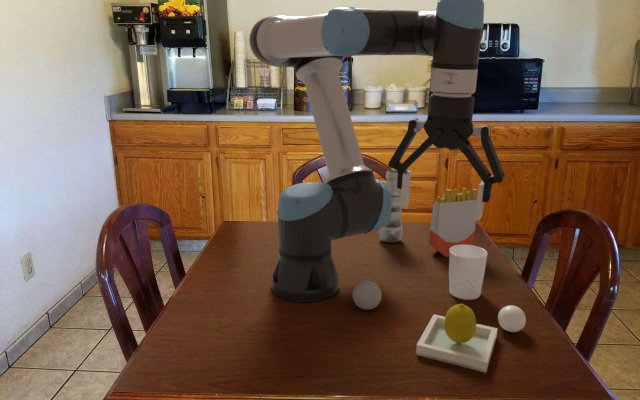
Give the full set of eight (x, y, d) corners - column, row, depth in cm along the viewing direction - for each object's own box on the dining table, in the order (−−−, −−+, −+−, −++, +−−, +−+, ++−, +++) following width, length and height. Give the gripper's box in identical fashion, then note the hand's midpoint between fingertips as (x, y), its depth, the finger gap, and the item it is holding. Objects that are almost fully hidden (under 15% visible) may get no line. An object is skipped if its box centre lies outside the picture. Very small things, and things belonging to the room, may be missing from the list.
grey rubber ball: (347, 311, 105) (348, 284, 104) (358, 298, 110) (359, 273, 109) (375, 317, 103) (376, 290, 101) (385, 304, 108) (386, 278, 106)
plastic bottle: (374, 238, 145) (376, 170, 140) (396, 235, 147) (399, 168, 142) (384, 246, 140) (386, 175, 134) (406, 243, 142) (410, 173, 136)
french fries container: (427, 251, 136) (432, 186, 131) (463, 247, 139) (468, 183, 134) (436, 258, 132) (441, 191, 127) (473, 253, 135) (479, 187, 130)
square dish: (415, 354, 90) (416, 344, 90) (433, 323, 101) (433, 314, 100) (486, 373, 85) (487, 362, 85) (496, 337, 96) (497, 328, 95)
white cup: (484, 303, 109) (489, 259, 106) (446, 299, 110) (450, 256, 107) (481, 286, 116) (485, 245, 113) (445, 283, 118) (448, 243, 115)
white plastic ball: (494, 333, 97) (497, 309, 96) (498, 321, 101) (501, 298, 100) (522, 339, 95) (526, 315, 94) (525, 327, 99) (528, 304, 98)
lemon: (468, 335, 96) (472, 296, 93) (478, 352, 90) (482, 311, 88) (439, 335, 95) (442, 297, 93) (447, 352, 90) (450, 312, 88)
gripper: (375, 91, 89) (369, 206, 95) (527, 102, 78) (508, 230, 85) (389, 87, 95) (383, 195, 102) (532, 97, 85) (514, 217, 91)
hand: (440, 212), depth 93 cm, fingers open, 13 cm apart
